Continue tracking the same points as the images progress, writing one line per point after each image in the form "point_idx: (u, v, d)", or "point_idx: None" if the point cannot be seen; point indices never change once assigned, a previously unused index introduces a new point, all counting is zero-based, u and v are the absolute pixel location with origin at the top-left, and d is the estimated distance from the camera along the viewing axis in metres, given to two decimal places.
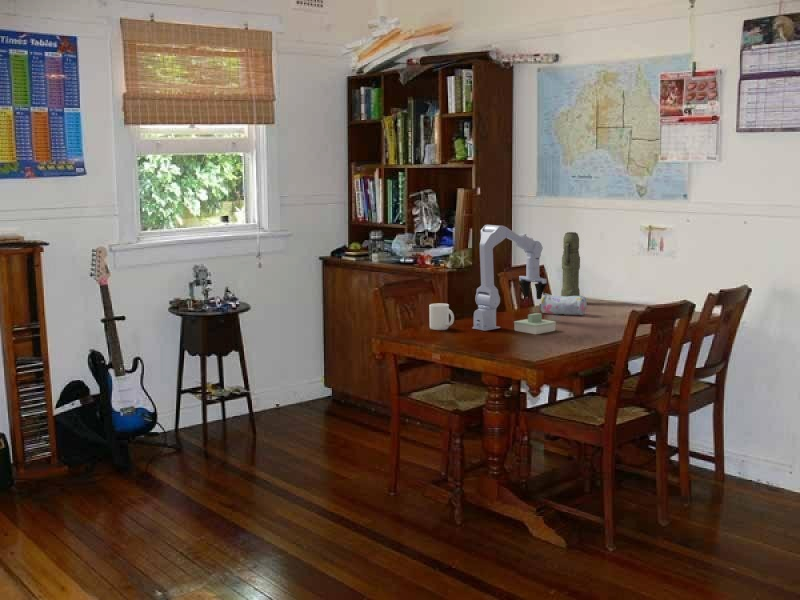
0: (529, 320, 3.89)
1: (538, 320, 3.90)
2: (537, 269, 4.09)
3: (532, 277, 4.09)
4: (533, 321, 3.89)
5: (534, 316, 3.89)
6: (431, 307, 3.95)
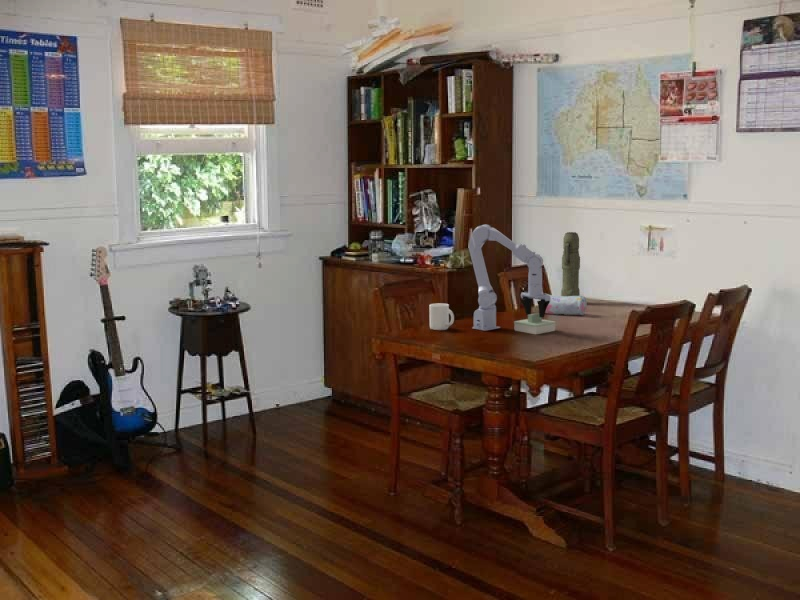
0: (529, 320, 3.89)
1: (538, 320, 3.90)
2: (540, 285, 3.86)
3: (534, 294, 3.86)
4: (533, 321, 3.89)
5: (534, 316, 3.89)
6: (431, 307, 3.95)
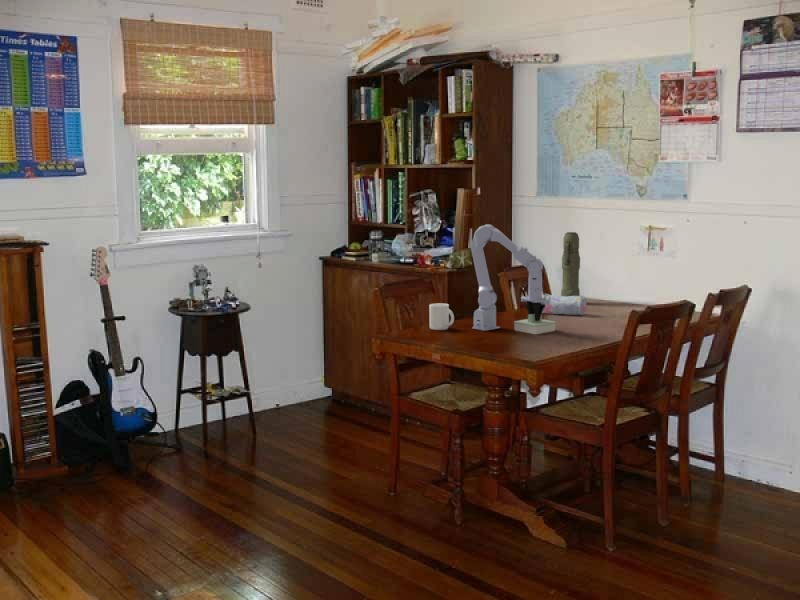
0: (529, 320, 3.89)
1: None
2: (540, 290, 3.87)
3: (534, 298, 3.86)
4: (533, 321, 3.89)
5: (534, 316, 3.89)
6: (431, 307, 3.95)
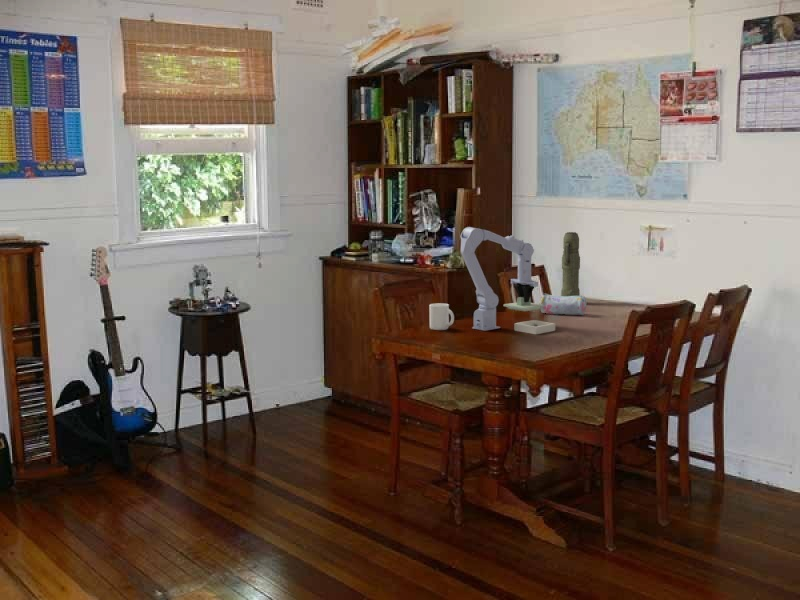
0: (518, 303, 4.00)
1: (527, 303, 4.01)
2: (529, 272, 3.97)
3: (523, 280, 3.97)
4: (522, 304, 3.99)
5: (523, 299, 3.99)
6: (431, 307, 3.95)
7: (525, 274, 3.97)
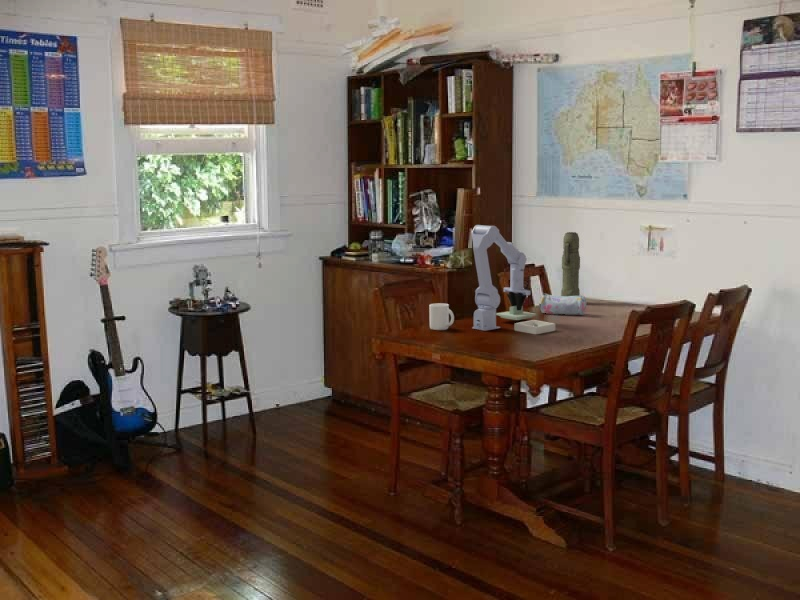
0: (511, 312, 4.09)
1: (519, 312, 4.10)
2: (521, 281, 4.07)
3: (516, 289, 4.06)
4: (514, 313, 4.08)
5: (515, 308, 4.09)
6: (431, 307, 3.95)
7: (518, 283, 4.06)
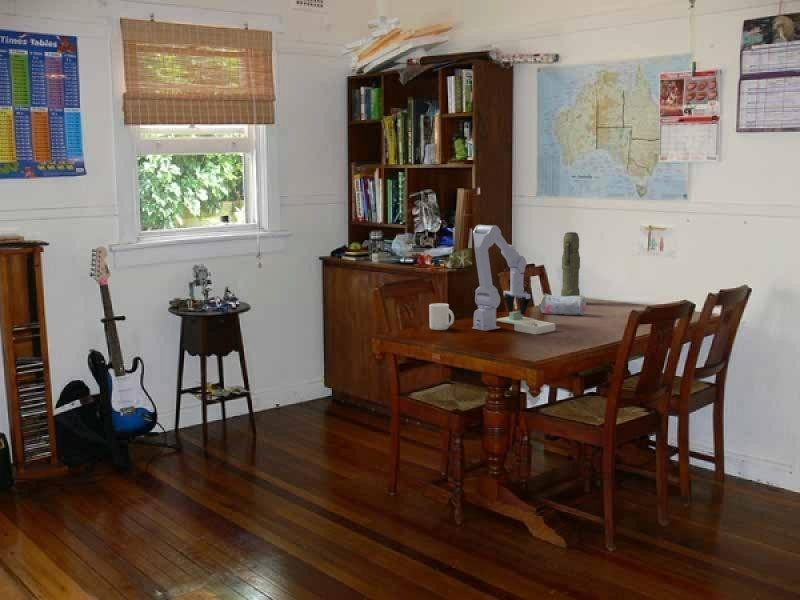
0: (510, 317, 4.09)
1: (519, 317, 4.11)
2: (521, 284, 4.07)
3: (516, 292, 4.07)
4: (514, 318, 4.09)
5: (515, 314, 4.09)
6: (431, 307, 3.95)
7: (518, 286, 4.06)
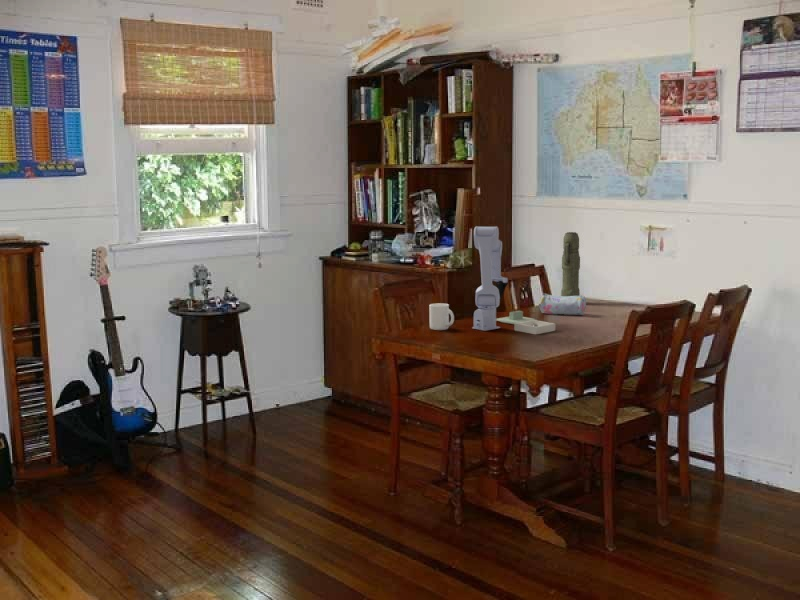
0: (510, 317, 4.09)
1: (519, 317, 4.11)
2: (498, 268, 4.11)
3: (493, 276, 4.11)
4: (514, 318, 4.09)
5: (515, 314, 4.09)
6: (431, 307, 3.95)
7: (495, 270, 4.10)
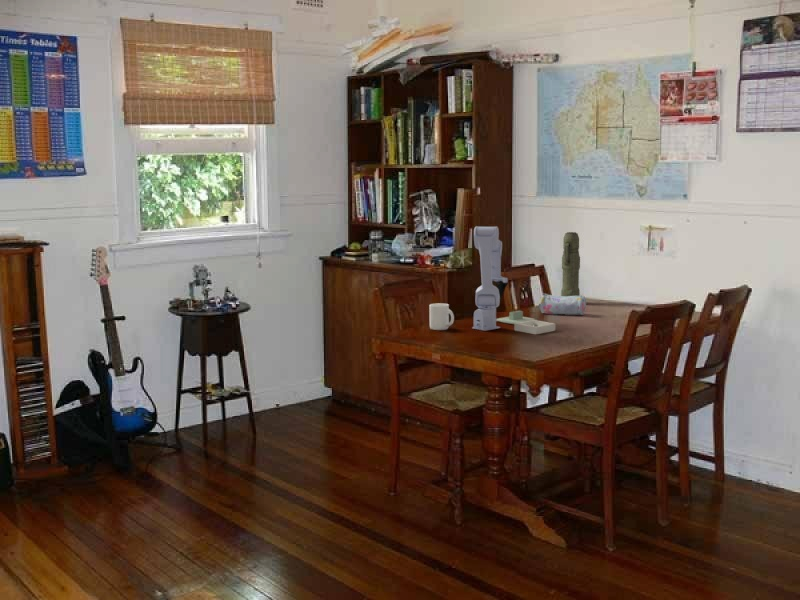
0: (510, 317, 4.09)
1: (519, 317, 4.11)
2: (498, 268, 4.11)
3: (493, 276, 4.11)
4: (514, 318, 4.09)
5: (515, 314, 4.09)
6: (431, 307, 3.95)
7: (495, 270, 4.10)
